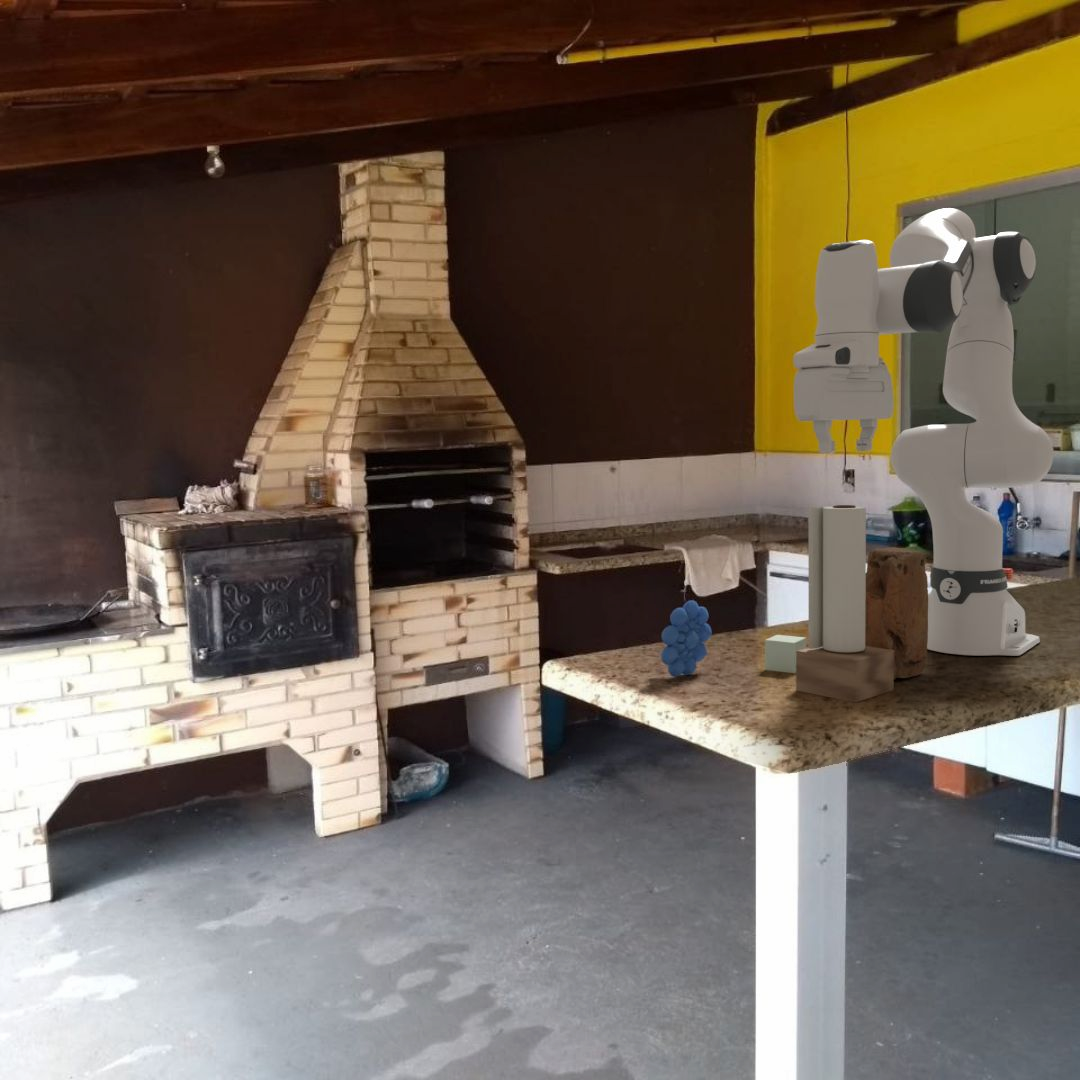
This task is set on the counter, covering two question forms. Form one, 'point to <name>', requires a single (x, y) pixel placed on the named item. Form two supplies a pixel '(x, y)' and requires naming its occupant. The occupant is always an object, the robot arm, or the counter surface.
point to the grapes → (685, 639)
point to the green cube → (783, 652)
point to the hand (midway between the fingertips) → (845, 452)
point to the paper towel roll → (837, 578)
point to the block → (898, 607)
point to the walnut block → (845, 673)
